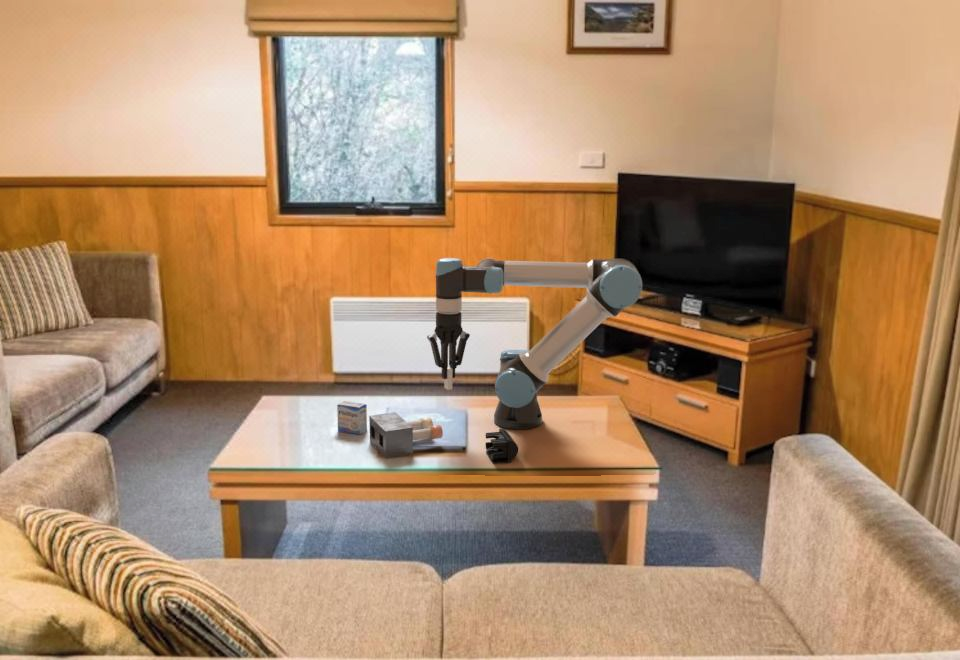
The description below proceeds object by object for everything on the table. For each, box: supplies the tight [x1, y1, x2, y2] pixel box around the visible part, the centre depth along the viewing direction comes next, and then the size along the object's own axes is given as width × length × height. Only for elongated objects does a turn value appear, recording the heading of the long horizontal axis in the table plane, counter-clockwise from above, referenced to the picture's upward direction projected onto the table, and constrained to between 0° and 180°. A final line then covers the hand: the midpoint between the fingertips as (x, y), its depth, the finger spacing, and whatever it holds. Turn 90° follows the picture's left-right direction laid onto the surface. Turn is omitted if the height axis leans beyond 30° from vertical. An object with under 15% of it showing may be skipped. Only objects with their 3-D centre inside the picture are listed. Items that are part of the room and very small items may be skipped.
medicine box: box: [336, 400, 368, 436], centre depth 259 cm, size 8×4×9 cm, turn 68°
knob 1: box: [406, 416, 434, 431], centre depth 252 cm, size 15×4×4 cm, turn 115°
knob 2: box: [413, 424, 444, 441], centre depth 245 cm, size 15×4×4 cm, turn 115°
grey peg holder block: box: [368, 411, 414, 459], centre depth 246 cm, size 8×14×8 cm, turn 25°
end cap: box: [485, 428, 519, 465], centre depth 240 cm, size 10×7×7 cm
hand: (448, 388), depth 255 cm, fingers closed
